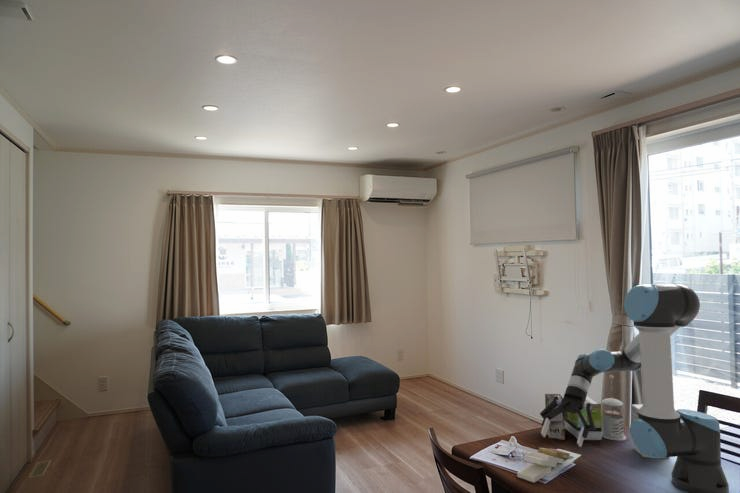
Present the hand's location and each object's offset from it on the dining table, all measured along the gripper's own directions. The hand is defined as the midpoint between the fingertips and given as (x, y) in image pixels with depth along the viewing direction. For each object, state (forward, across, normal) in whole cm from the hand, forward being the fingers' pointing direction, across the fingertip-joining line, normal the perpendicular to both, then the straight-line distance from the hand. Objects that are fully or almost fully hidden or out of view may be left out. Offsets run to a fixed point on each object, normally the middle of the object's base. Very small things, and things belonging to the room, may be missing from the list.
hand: (560, 440), depth 176 cm
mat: (+8, 0, -1) cm, 9 cm away
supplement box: (-16, -21, -26) cm, 37 cm away
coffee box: (-10, +12, -20) cm, 26 cm away
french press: (-22, -5, -32) cm, 39 cm away
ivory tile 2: (+11, 0, +3) cm, 11 cm away
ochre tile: (+3, 0, -5) cm, 6 cm away
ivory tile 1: (+7, 0, -1) cm, 7 cm away
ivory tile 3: (+14, 0, +6) cm, 15 cm away
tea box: (-17, +5, -27) cm, 33 cm away
